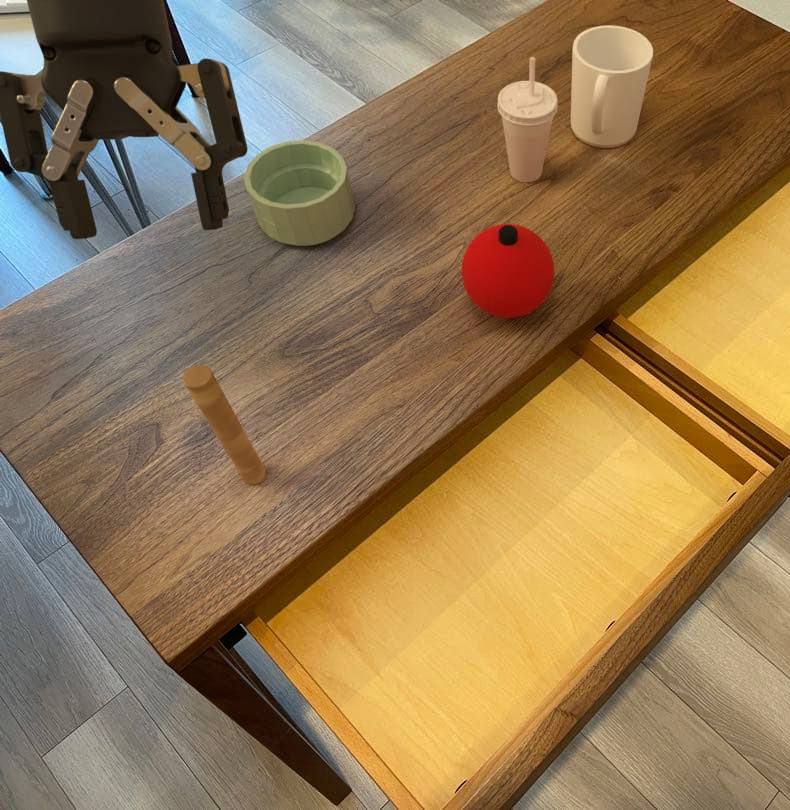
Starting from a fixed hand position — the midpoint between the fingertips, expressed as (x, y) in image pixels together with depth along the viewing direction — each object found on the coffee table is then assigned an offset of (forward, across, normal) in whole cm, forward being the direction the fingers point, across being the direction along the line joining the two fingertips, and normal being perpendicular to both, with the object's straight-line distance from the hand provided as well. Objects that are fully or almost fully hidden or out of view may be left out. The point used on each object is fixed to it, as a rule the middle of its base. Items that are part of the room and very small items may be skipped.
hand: (149, 233), depth 53 cm
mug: (-4, +37, +44) cm, 58 cm away
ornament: (+12, +24, +23) cm, 35 cm away
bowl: (+2, +3, +33) cm, 33 cm away
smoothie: (0, +27, +39) cm, 47 cm away
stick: (+22, +1, +8) cm, 23 cm away
